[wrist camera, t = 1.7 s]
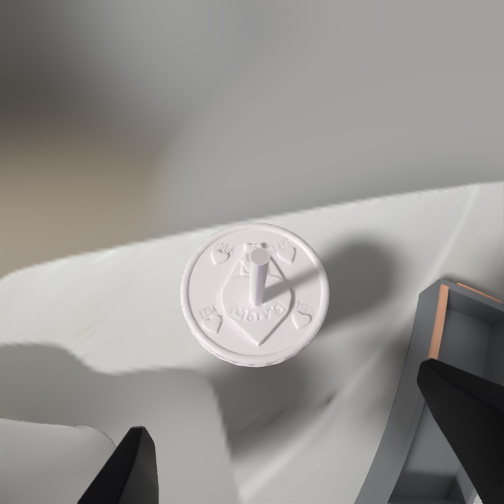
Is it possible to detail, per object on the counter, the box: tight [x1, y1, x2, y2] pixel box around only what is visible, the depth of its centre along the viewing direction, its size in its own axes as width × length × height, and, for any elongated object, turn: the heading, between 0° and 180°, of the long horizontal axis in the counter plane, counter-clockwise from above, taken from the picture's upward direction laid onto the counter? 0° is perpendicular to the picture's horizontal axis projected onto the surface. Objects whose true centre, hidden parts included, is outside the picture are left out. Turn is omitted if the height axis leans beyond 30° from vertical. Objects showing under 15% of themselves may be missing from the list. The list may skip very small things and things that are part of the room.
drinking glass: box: [0, 417, 117, 504], centre depth 10 cm, size 7×7×15 cm
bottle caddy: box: [354, 278, 504, 504], centre depth 16 cm, size 25×9×4 cm, turn 159°
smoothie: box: [180, 223, 329, 367], centre depth 15 cm, size 6×6×14 cm
